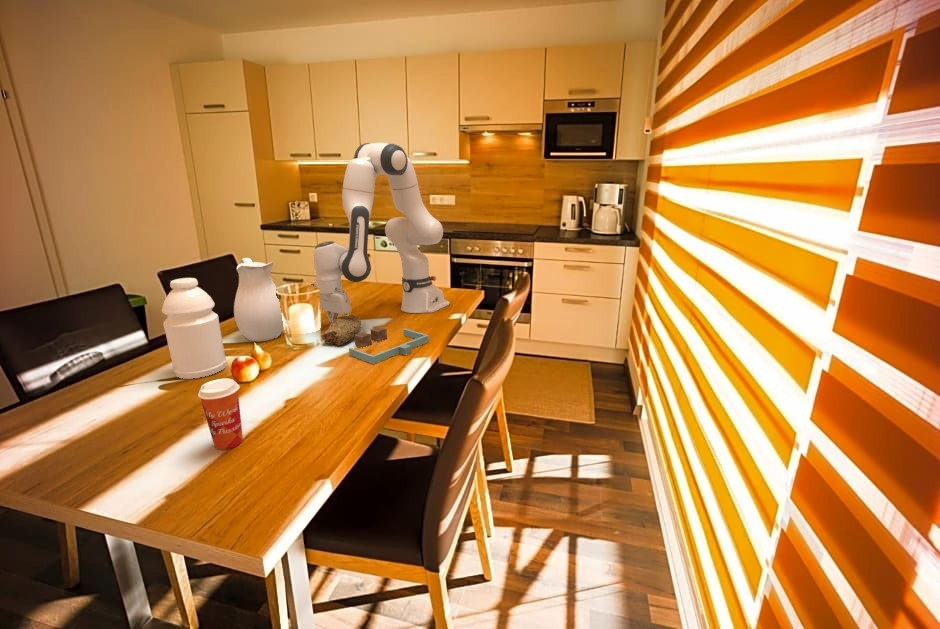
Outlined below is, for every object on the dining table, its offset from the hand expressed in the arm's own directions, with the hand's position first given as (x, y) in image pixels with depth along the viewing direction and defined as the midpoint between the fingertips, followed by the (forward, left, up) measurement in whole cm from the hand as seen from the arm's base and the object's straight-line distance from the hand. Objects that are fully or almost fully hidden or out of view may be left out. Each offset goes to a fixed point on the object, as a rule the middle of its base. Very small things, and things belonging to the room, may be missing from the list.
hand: (333, 322), depth 173 cm
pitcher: (+19, -17, -3) cm, 26 cm away
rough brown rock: (+2, +10, -3) cm, 10 cm away
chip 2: (-3, +22, -3) cm, 23 cm away
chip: (+4, +22, -3) cm, 23 cm away
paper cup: (+60, +47, -3) cm, 76 cm away
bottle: (+47, 0, -3) cm, 47 cm away
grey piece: (0, +33, -3) cm, 33 cm away
